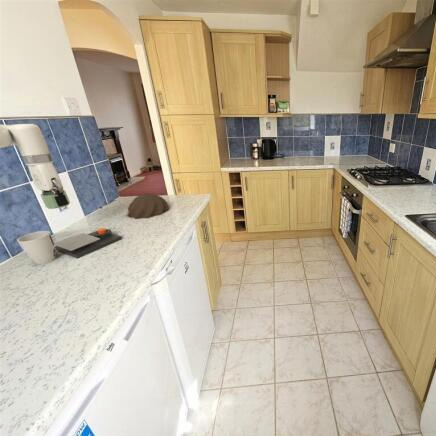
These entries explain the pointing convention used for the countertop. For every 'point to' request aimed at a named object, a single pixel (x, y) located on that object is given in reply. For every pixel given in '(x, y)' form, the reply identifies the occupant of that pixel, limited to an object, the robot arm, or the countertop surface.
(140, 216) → the decorative dome
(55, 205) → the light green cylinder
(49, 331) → the countertop surface
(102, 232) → the tare button
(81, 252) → the scale
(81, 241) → the grey plate
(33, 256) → the cup
